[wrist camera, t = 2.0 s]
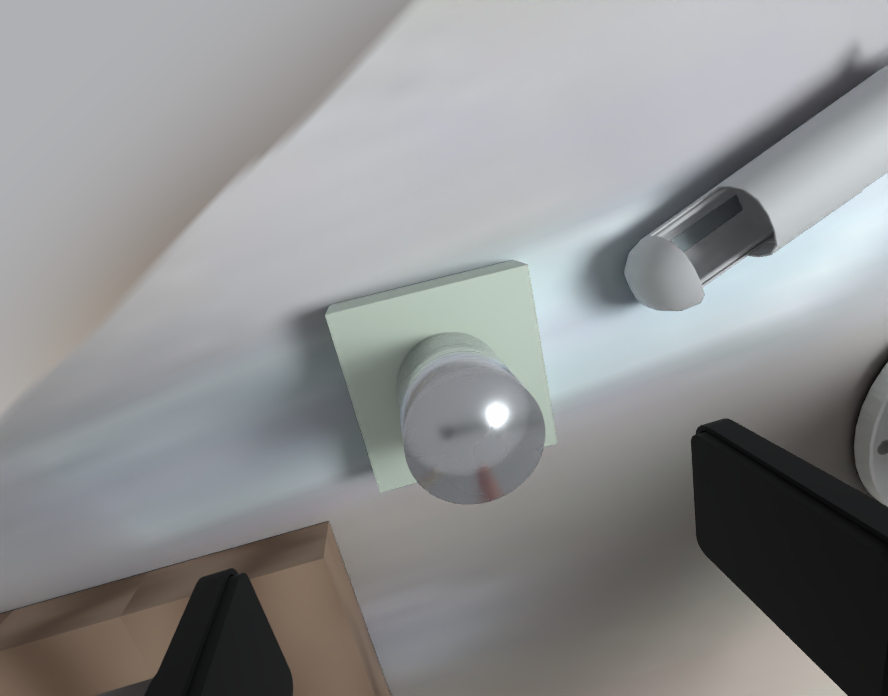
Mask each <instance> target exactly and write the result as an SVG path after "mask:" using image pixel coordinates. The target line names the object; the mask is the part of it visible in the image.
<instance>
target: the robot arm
mask: <svg viewBox="0 0 888 696" xmlns="http://www.w3.org/2000/svg"><path fill="white" fill-rule="evenodd" d="M691 450H692V467H693V485H694V502H695V520H696V536H697V541H698V544H699V546H700V548H701V549H702V551H703V552H704V554H705V555H706V556H707V557H708V558H709V559H710V560H711V561H712V562H713V563H714V564H715V565H716V566H717V567H718V568H719V569H720V570H721V571H722V572H723V573H724V574H725V575H726V576H727V577H728V578H729V579H730V580H731V581H732V582H733V583H734V584H735V585H736V586H737V587H738V588H739V589H740V590H741V591H742V592H744V593H745V594H746V595H747V596H748V597H749V598H750V599H751V600H752V601H753V602H754V603H755V604H756V605H757V606H758V607H759V608H760V609H761V610H762V611H763V612H764V613H765V614H766V615H767V616H768V617H769V618H770V619H771V620H772V621H773V622H774V623H775V624H776V625H777V626H778V627H779V628H780V629H781V630H782V631H783V632H784V633H785V634H786V635H787V636H788V637H789V638H790V639H791V640H792V641H793V642H794V643H795V644H796V645H797V646H798V647H799V648H800V649H801V650H802V651H803V652H804V653H805V654H806V655H807V656H808V657H809V658H810V659H811V660H812V661H813V662H814V663H815V664H816V665H817V666H818V667H819V668H820V669H821V670H823V671H824V672H825V673H826V674H827V675H828V676H829V677H830V678H831V679H832V680H833V681H834V682H835V683H836V684H837V685H838V686H839V687H840V688H841V689H842V690H843V691H844V692H845V693H846V694H847V695H848V696H888V362H887V363H886V365H885V366H884V367H883V369H882V370H881V372H880V373H879V375H878V377H877V378H876V380H875V381H874V383H873V384H872V386H871V388H870V390H869V392H868V394H867V397H866V399H865V401H864V403H863V405H862V408H861V411H860V415H859V418H858V422H857V425H856V431H855V441H854V453H855V463H856V468H857V471H858V474H859V477H860V479H861V482H862V483H863V485H864V486H865V488H866V489H867V491H868V492H869V494H871V495H872V496H873V497H874V498H875V499H877V500H878V501H879V502H878V501H876V500H874V499H872V498H871V497H869V496H867V495H865V494H863V493H862V492H860V491H858V490H856V489H854V488H853V487H851V486H849V485H847V484H845V483H844V482H842V481H840V480H838V479H836V478H835V477H833V476H831V475H829V474H827V473H826V472H824V471H822V470H820V469H818V468H817V467H815V466H813V465H811V464H809V463H808V462H806V461H804V460H802V459H801V458H799V457H797V456H795V455H793V454H792V453H790V452H788V451H786V450H784V449H783V448H781V447H779V446H777V445H775V444H774V443H772V442H770V441H768V440H766V439H765V438H763V437H761V436H759V435H757V434H756V433H754V432H752V431H750V430H748V429H747V428H745V427H743V426H741V425H739V424H738V423H736V422H734V421H732V420H730V419H721V420H718V421H714V422H711V423H708V424H704V425H701V426H699V427H698V428H697V430H696V435H694V436H693V437H692V439H691ZM881 503H882V504H881ZM144 696H293V679H292V674H291V671H290V668H289V666H288V664H287V662H286V659H285V657H284V655H283V653H282V651H281V648H280V646H279V644H278V642H277V639H276V637H275V635H274V633H273V630H272V628H271V626H270V624H269V622H268V619H267V617H266V615H265V613H264V610H263V608H262V606H261V604H260V601H259V599H258V597H257V595H256V593H255V590H254V588H253V586H252V584H251V581H250V579H249V577H248V575H247V574H246V573H241V574H238V573H237V571H236V570H235V569H234V568H230V569H226V570H223V571H220V572H217V573H213V574H210V575H207V576H203V577H201V578H200V579H199V580H198V581H197V583H196V585H195V587H194V590H193V592H192V594H191V597H190V599H189V601H188V603H187V606H186V608H185V610H184V613H183V615H182V617H181V619H180V622H179V624H178V626H177V629H176V631H175V633H174V635H173V638H172V640H171V642H170V645H169V647H168V649H167V651H166V654H165V656H164V658H163V661H162V663H161V665H160V667H159V670H158V672H157V674H156V675H155V676H154V677H153V679H152V681H151V683H150V684H149V686H148V689H147V691H146V693H145V695H144Z"/></svg>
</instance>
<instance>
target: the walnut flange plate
mask: <svg viewBox="0 0 888 696" xmlns="http://www.w3.org/2000/svg"><path fill="white" fill-rule="evenodd" d="M230 568H234V569H235V570H236V571H237V573H238V574H241V573H246V574H247V575H248V577H249V579H250V581H251V584H252V586H253V588H254V590H255V593H256V595H257V597H258V599H259V601H260V604H261V606H262V608H263V610H264V613H265V615H266V617H267V619H268V622H269V624H270V626H271V628H272V630H273V633H274V635H275V637H276V639H277V642H278V644H279V646H280V648H281V651H282V653H283V655H284V657H285V659H286V662H287V664H288V666H289V668H290V671H291V674H292V679H293V696H391V694H390V691H389V689H388V686H387V683H386V680H385V677H384V675H383V672H382V669H381V666H380V663H379V661H378V658H377V655H376V652H375V649H374V647H373V644H372V641H371V638H370V635H369V633H368V630H367V627H366V624H365V621H364V619H363V616H362V613H361V610H360V607H359V605H358V602H357V599H356V596H355V593H354V590H353V588H352V585H351V582H350V579H349V576H348V574H347V571H346V568H345V565H344V562H343V560H342V557H341V554H340V551H339V548H338V546H337V543H336V540H335V537H334V534H333V532H332V529H331V526H330V523H329V521H328V522H324V523H321V524H317V525H314V526H310V527H307V528H303V529H299V530H296V531H292V532H289V533H285V534H282V535H278V536H275V537H271V538H268V539H264V540H260V541H257V542H253V543H250V544H246V545H243V546H239V547H236V548H232V549H228V550H225V551H221V552H218V553H214V554H211V555H207V556H204V557H200V558H196V559H193V560H189V561H186V562H182V563H179V564H175V565H172V566H168V567H165V568H161V569H157V570H154V571H150V572H147V573H143V574H140V575H136V576H133V577H129V578H125V579H122V580H118V581H115V582H111V583H108V584H104V585H101V586H97V587H93V588H90V589H86V590H83V591H79V592H76V593H72V594H69V595H65V596H62V597H58V598H54V599H51V600H47V601H44V602H40V603H37V604H33V605H30V606H26V607H22V608H19V609H15V610H12V611H8V612H5V613H1V614H0V696H144V695H145V693H146V691H147V689H148V686H149V684H150V683H151V681H152V679H153V677H154V676H155V675H156V674H157V672H158V670H159V667H160V665H161V663H162V661H163V658H164V656H165V654H166V651H167V649H168V647H169V645H170V642H171V640H172V638H173V635H174V633H175V631H176V629H177V626H178V624H179V622H180V619H181V617H182V615H183V613H184V610H185V608H186V606H187V603H188V601H189V599H190V597H191V594H192V592H193V590H194V587H195V585H196V583H197V581H198V580H199V579H200V578H201V577H203V576H207V575H210V574H213V573H217V572H220V571H223V570H226V569H230Z"/></svg>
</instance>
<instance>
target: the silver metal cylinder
mask: <svg viewBox="0 0 888 696" xmlns="http://www.w3.org/2000/svg"><path fill="white" fill-rule="evenodd" d="M396 391H397V399H398V407H399V415H400V423H401V430H402V438H403V446H404V453H405V458H406V462H407V465H408V468H409V470H410V472H411V473H412V475H413V477H414V478H415V480H416V481H417V482H418V483H419V484H420V485H421V486H422V487H423V488H424V489H425V490H426V491H428V492H429V493H430V494H432V495H434V496H436V497H437V498H440V499H442V500H445V501H448V502H452V503H458V504H479V503H484V502H489V501H492V500H495V499H498V498H500V497H502V496H504V495H506V494H508V493H509V492H511V491H513V490H514V489H515V488H517V487H518V486H519V485H521V484H522V483H523V482H524V481H525V480H526V479H527V478H528V476H529V475H530V474H531V473H532V471H533V470H534V468H535V467H536V465H537V463H538V461H539V459H540V457H541V454H542V451H543V448H544V443H545V422H544V418H543V414H542V412H541V409H540V407H539V405H538V403H537V402H536V400H535V399H534V397H533V396H532V395H531V394H530V393H529V391H528V390H527V389H526V388H525V387H524V386H523V385H522V383H521V382H520V381H519V380H518V379H517V378H516V377H515V375H514V374H513V373H512V372H511V371H510V370H509V369H508V367H507V366H506V365H505V364H504V363H503V362H502V361H501V359H500V358H499V357H498V356H497V355H496V354H495V353H494V351H493V350H492V349H491V348H490V347H489V346H488V345H487V344H486V343H485V342H483V341H482V340H480V339H478V338H476V337H474V336H472V335H469V334H466V333H461V332H445V333H439V334H436V335H433V336H430V337H428V338H426V339H424V340H423V341H421V342H419V343H418V344H417V345H416V346H414V347H413V348H412V349H411V350H410V351H409V353H408V354H407V355H406V357H405V358H404V360H403V362H402V363H401V365H400V368H399V371H398V375H397V381H396Z"/></svg>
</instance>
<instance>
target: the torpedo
mask: <svg viewBox="0 0 888 696" xmlns="http://www.w3.org/2000/svg"><path fill="white" fill-rule="evenodd" d="M887 172H888V65H887V66H885V67H884V68H882V69H880V70H878V71H877V72H876V73H874V74H873V75H871V76H870V77H869V78H867V79H866V80H864V81H863V82H862V83H860V84H859V85H857V86H856V87H855V88H853V89H852V90H850V91H849V92H848V93H846V94H845V95H843V96H842V97H840V98H839V99H838V100H836V101H835V102H833V103H832V104H831V105H829V106H828V107H826V108H825V109H824V110H822V111H821V112H819V113H818V114H817V115H815V116H814V117H812V118H811V119H810V120H808V121H807V122H805V123H804V124H802V125H801V126H800V127H798V128H797V129H795V130H794V131H793V132H791V133H790V134H788V135H787V136H786V137H784V138H783V139H781V140H780V141H779V142H777V143H776V144H774V145H773V146H772V147H770V148H769V149H767V150H766V151H764V152H763V153H762V154H760V155H759V156H757V157H756V158H755V159H753V160H752V161H750V162H749V163H748V164H746V165H745V166H743V167H742V168H741V169H739V170H738V171H736V172H735V173H734V174H732V175H731V176H729V177H728V178H726V179H725V180H724V181H722V182H721V183H719V184H718V185H717V186H715V187H714V188H712V189H711V190H710V191H708V192H707V193H705V194H704V195H703V196H701V197H700V198H698V199H697V200H696V201H694V202H693V203H691V204H690V205H689V206H687V207H686V208H684V209H683V210H681V211H680V212H679V213H677V214H676V215H674V216H673V217H672V218H670V219H669V220H667V221H666V222H665V223H663V224H662V225H660V226H659V227H658V228H656V229H655V230H653V231H652V232H651V233H649V234H648V235H646V236H645V237H643V238H642V239H641V240H640V241H639V242H638V243H637V244H636V245H635V247H634V248H633V249H632V250H631V251H630V252H629V255H628V258H627V262H626V266H625V270H624V275H625V278H626V280H627V282H628V285H629V287H630V289H631V290H632V292H633V294H634V296H635V298H636V299H637V300H638V301H640V302H641V303H642V304H643V305H645V306H647V307H649V308H652V309H655V310H661V311H682V310H685V309H687V308H690V307H692V306H695V305H697V304H700V303H701V302H702V300H703V297H704V295H705V294H704V291H703V287H704V286H705V285H706V284H708V283H709V282H711V281H712V280H714V279H715V278H716V277H718V276H719V275H721V274H722V273H724V272H725V271H726V270H728V269H729V268H731V267H732V266H734V265H735V264H736V263H738V262H739V261H741V260H742V259H744V258H745V257H746V256H753V257H763V256H768V255H772V254H773V253H775V252H776V251H778V250H779V249H780V248H782V247H783V246H785V245H786V244H788V243H789V242H791V241H792V240H793V239H795V238H796V237H798V236H799V235H801V234H802V233H803V232H805V231H806V230H808V229H809V228H811V227H812V226H813V225H815V224H816V223H818V222H819V221H821V220H822V219H823V218H825V217H826V216H828V215H829V214H831V213H832V212H833V211H835V210H836V209H838V208H839V207H841V206H842V205H844V204H845V203H846V202H848V201H849V200H851V199H852V198H854V197H855V196H856V195H858V194H859V193H861V192H862V191H863V189H865V188H866V187H867V186H869V185H870V184H872V183H873V182H875V181H876V180H877V179H879V178H880V177H882V176H883V175H885V174H886V173H887ZM734 195H737V196H738V199H739V201H740V204H741V206H742V208H743V209H742V211H741V212H739V213H738V214H737V215H735V216H734V217H732V218H731V219H729V220H728V221H727V222H725V223H724V224H722V225H721V226H720V227H718V228H717V229H715V230H714V231H713V232H711V233H710V234H708V235H707V236H706V237H704V238H703V239H701V240H700V241H699V242H697V243H696V244H694V245H693V246H691V247H690V248H689V249H687V250H686V251H684V252H683V251H682V250H681V249H679V248H678V247H677V246H676V245H675V244H674V243H672V242H671V240H672V239H673V238H675V237H676V236H678V235H679V234H680V233H682V232H683V231H685V230H686V229H688V228H689V227H690V226H692V225H693V224H695V223H696V222H697V221H699V220H700V219H702V218H703V217H705V216H706V215H707V214H709V213H710V212H712V211H713V210H715V209H716V208H717V207H719V206H720V205H722V204H723V203H724V202H726V201H727V200H729V199H730V198H732V197H733V196H734Z"/></svg>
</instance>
